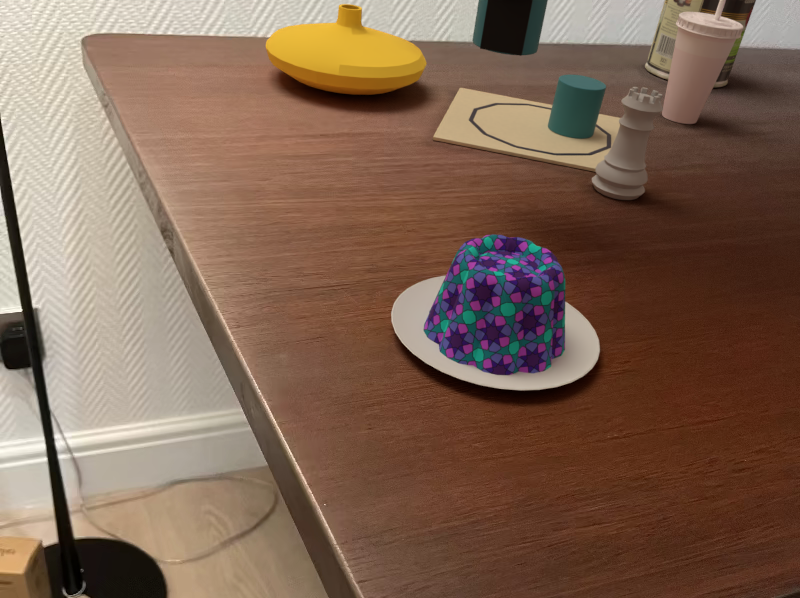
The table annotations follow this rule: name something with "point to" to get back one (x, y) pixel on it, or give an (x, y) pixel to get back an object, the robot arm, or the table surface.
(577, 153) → the sheet
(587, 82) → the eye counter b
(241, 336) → the table surface
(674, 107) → the smoothie
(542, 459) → the table surface
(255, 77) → the table surface
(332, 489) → the table surface
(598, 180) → the rook chess piece
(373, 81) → the vase
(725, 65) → the coffee can
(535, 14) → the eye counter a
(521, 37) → the robot arm
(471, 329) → the pudding
